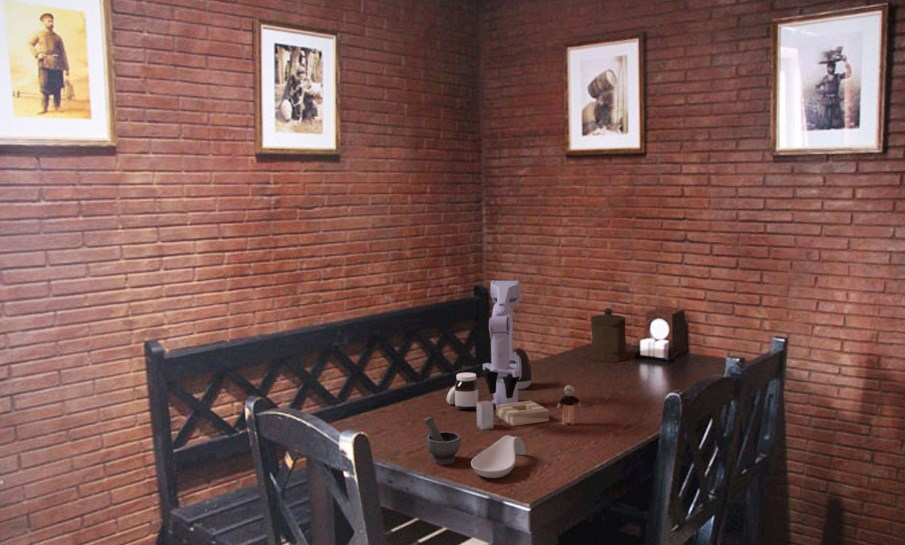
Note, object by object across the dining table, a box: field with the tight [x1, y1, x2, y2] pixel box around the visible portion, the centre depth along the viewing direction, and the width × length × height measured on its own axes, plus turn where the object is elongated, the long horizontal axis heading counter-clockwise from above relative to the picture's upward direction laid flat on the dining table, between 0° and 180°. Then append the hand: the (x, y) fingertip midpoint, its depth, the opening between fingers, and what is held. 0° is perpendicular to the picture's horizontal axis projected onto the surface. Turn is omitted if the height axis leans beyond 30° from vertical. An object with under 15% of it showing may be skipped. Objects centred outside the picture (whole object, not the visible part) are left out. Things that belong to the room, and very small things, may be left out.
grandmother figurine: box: [556, 384, 582, 426], centre depth 258 cm, size 8×4×13 cm, turn 105°
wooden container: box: [590, 308, 627, 363], centre depth 349 cm, size 15×15×22 cm
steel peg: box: [476, 400, 494, 431], centre depth 256 cm, size 4×4×8 cm
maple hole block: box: [495, 400, 550, 427], centre depth 266 cm, size 13×13×4 cm
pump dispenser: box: [510, 347, 534, 390], centre depth 304 cm, size 10×10×15 cm
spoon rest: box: [470, 434, 527, 479], centre depth 221 cm, size 24×12×7 cm, turn 154°
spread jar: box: [446, 372, 479, 411], centre depth 280 cm, size 12×11×12 cm
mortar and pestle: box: [423, 416, 462, 465], centre depth 227 cm, size 11×9×12 cm
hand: (501, 395), depth 255 cm, fingers open, 7 cm apart
